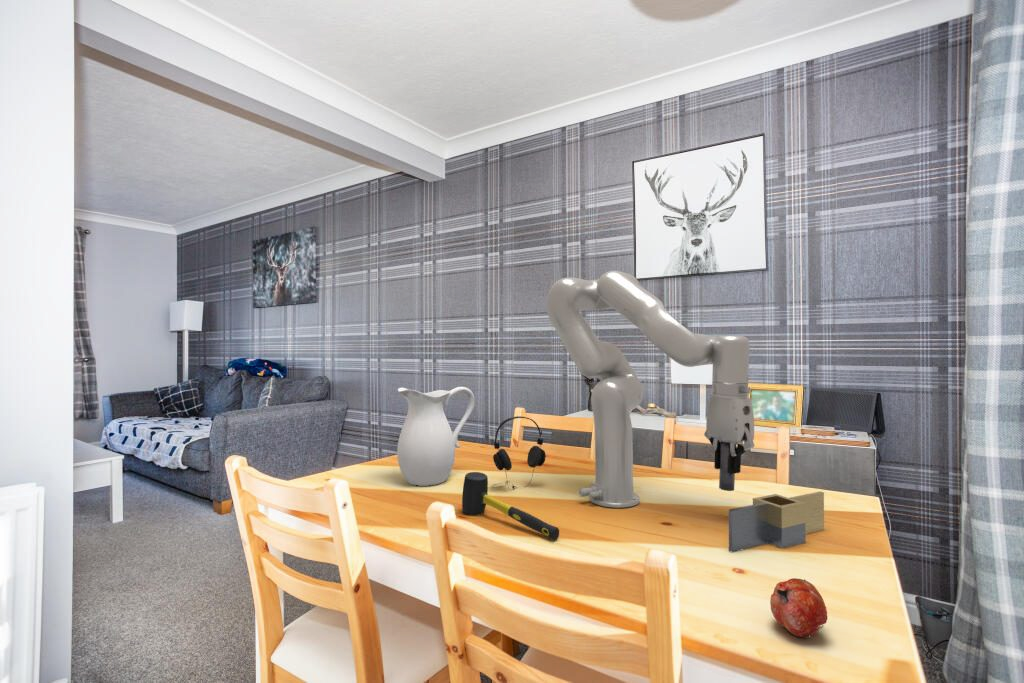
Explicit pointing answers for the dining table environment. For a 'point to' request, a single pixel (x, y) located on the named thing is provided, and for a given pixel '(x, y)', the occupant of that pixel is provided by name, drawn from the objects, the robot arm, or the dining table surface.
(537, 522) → the mallet
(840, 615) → the dining table surface
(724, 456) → the hinge pin
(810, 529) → the hinge
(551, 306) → the robot arm
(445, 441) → the pitcher
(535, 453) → the headphones
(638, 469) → the dining table surface
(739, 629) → the dining table surface
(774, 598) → the pomegranate
